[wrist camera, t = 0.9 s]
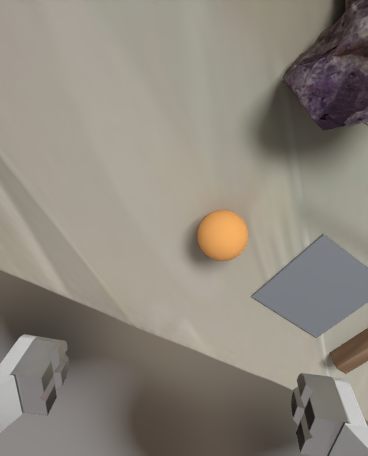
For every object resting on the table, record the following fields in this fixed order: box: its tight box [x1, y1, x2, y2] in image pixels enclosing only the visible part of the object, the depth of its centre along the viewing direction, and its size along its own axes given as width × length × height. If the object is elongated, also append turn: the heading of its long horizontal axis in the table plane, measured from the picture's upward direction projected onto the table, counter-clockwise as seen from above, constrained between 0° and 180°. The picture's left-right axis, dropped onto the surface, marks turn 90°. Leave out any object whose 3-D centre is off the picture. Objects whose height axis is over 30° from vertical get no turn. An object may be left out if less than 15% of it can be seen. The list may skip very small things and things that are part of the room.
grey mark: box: [252, 234, 368, 338], centre depth 42 cm, size 12×12×1 cm
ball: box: [197, 210, 248, 261], centre depth 35 cm, size 5×5×5 cm
